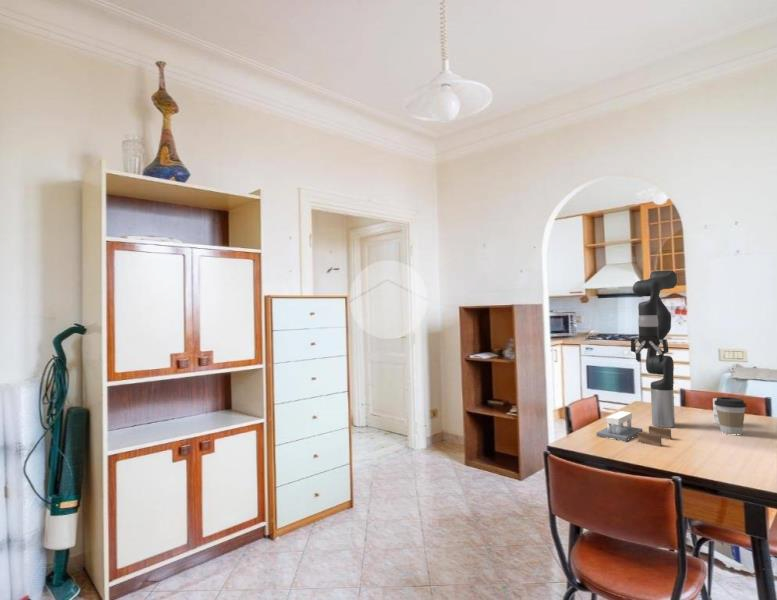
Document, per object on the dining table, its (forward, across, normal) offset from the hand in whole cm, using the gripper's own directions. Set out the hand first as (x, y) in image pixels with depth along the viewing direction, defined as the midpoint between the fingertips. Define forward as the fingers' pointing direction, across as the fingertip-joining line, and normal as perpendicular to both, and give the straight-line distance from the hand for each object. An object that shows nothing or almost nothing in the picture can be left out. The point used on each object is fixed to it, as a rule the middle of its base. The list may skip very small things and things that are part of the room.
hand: (649, 362), depth 192 cm
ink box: (+32, -18, -42) cm, 56 cm away
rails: (+32, -3, +7) cm, 33 cm away
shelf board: (+26, +11, +7) cm, 29 cm away
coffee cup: (+32, -23, -27) cm, 48 cm away
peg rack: (+32, +11, +7) cm, 35 cm away
